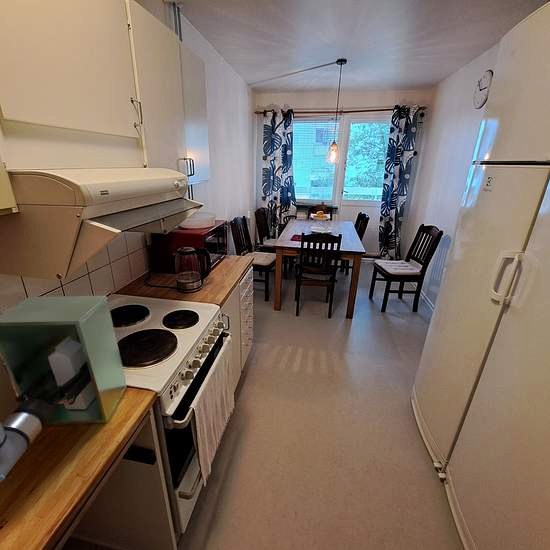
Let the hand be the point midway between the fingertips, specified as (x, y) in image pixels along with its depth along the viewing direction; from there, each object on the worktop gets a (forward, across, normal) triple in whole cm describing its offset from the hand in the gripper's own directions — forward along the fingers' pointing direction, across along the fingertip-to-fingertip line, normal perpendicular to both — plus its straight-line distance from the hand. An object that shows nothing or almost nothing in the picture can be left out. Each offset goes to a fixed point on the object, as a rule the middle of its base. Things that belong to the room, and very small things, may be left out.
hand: (81, 358), depth 88 cm
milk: (-5, 0, -12) cm, 13 cm away
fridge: (-5, 0, -13) cm, 14 cm away
